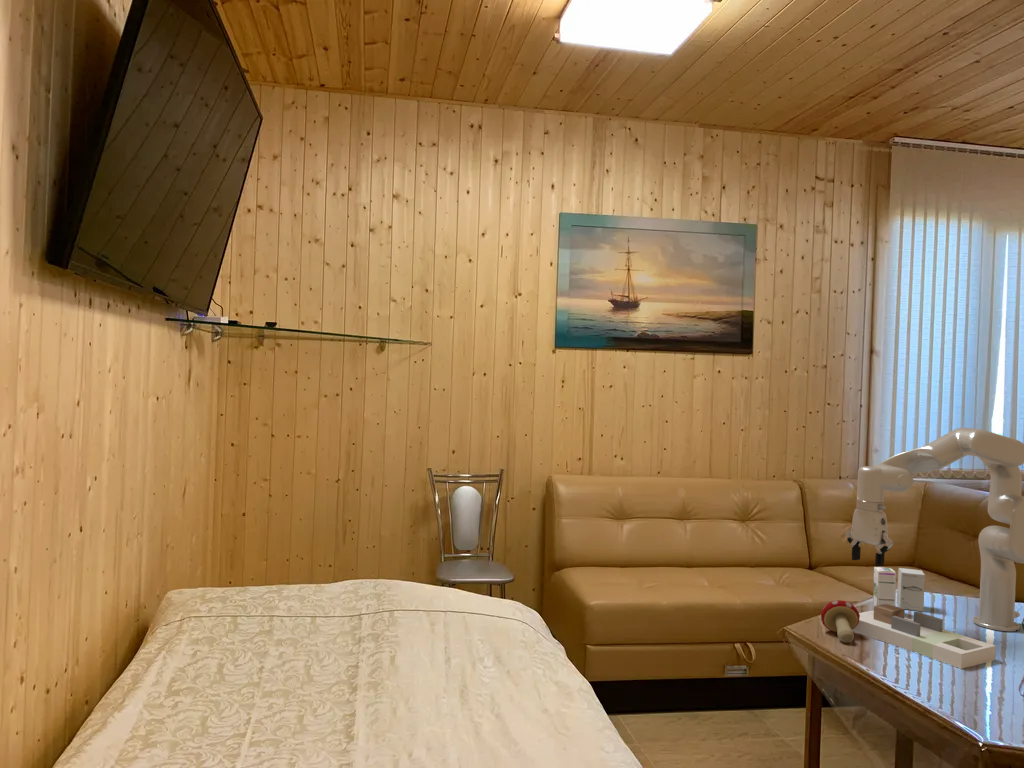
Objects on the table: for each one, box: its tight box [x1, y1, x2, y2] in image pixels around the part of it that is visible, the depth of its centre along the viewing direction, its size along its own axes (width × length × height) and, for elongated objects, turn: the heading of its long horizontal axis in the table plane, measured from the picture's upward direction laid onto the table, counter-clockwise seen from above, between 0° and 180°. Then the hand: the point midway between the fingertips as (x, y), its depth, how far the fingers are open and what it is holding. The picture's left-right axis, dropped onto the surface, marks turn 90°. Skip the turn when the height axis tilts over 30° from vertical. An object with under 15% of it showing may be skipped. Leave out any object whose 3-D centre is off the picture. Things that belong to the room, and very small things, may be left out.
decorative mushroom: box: [820, 599, 860, 644], centre depth 230 cm, size 11×11×15 cm
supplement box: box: [896, 567, 926, 613], centre depth 263 cm, size 7×7×13 cm
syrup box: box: [872, 566, 897, 610], centre depth 257 cm, size 6×6×14 cm
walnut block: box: [873, 604, 906, 625], centre depth 234 cm, size 6×6×4 cm
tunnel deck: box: [852, 609, 997, 670], centre depth 226 cm, size 16×36×8 cm, turn 29°
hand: (867, 562), depth 241 cm, fingers open, 7 cm apart
